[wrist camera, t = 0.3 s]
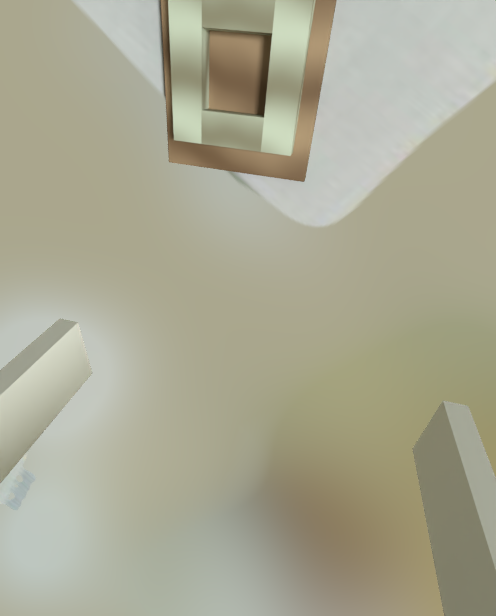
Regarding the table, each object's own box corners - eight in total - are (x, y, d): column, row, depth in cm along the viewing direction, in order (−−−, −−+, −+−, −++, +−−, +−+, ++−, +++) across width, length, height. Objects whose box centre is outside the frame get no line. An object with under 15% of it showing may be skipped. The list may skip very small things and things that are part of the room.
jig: (163, -60, 26) (145, -74, 24) (345, -50, 24) (345, -65, 22) (172, 160, 35) (160, 166, 33) (305, 179, 33) (302, 187, 31)
